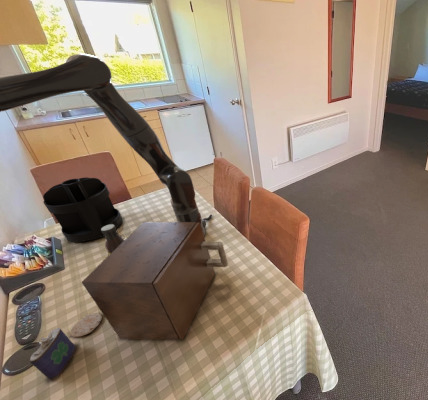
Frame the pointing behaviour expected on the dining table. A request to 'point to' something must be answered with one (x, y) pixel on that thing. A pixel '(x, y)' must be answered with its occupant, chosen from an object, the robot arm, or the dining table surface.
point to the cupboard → (137, 281)
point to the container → (82, 208)
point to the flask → (53, 354)
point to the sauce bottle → (111, 238)
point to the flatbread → (86, 325)
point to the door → (188, 278)
